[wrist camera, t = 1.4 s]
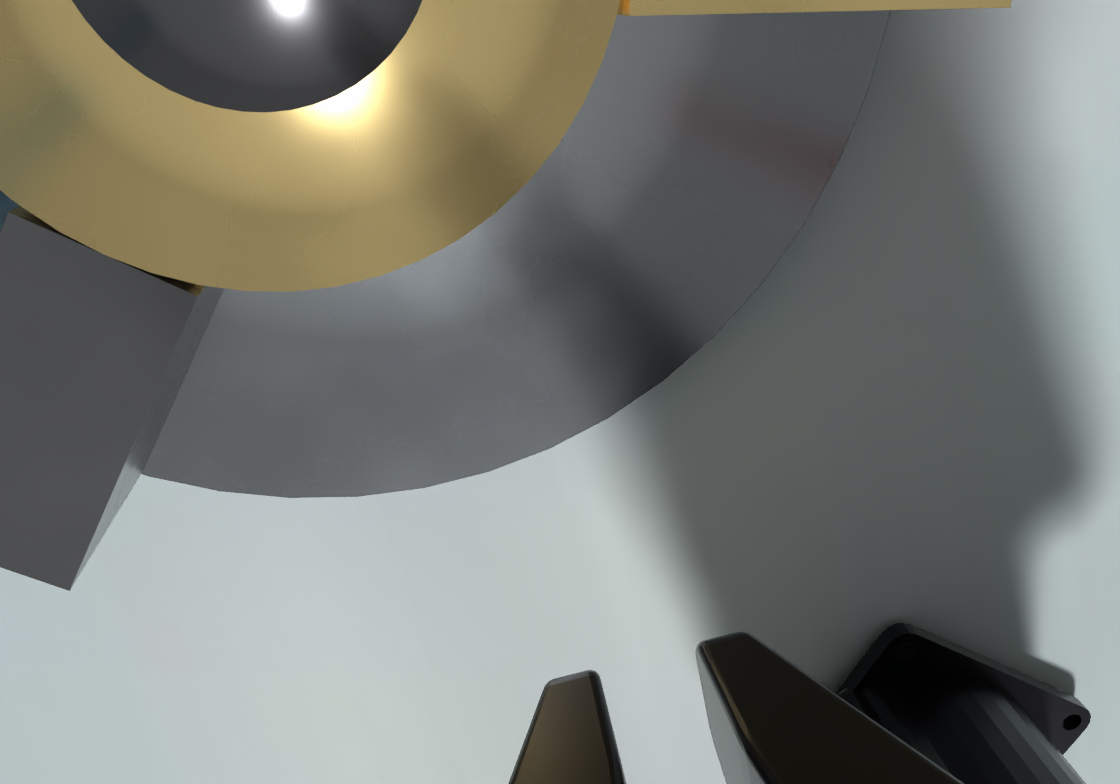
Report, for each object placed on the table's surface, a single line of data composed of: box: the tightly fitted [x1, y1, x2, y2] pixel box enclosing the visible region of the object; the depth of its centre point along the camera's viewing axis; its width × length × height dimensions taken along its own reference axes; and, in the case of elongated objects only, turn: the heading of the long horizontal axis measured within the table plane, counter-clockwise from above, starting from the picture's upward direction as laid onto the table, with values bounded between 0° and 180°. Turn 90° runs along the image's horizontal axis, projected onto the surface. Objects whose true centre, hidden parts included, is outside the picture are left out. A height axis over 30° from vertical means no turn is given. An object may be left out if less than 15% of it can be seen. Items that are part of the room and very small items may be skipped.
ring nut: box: [0, 0, 1011, 591], centre depth 13 cm, size 18×15×4 cm
